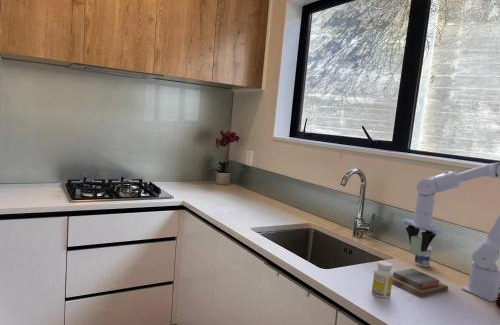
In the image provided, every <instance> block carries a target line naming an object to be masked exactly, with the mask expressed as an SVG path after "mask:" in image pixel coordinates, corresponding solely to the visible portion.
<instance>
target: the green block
mask: <svg viewBox="0 0 500 325" xmlns="http://www.w3.org/2000/svg"><path fill="white" fill-rule="evenodd" d="M421 247H422V235H419V234H418V235H416V236H411V243H410V242H409V251H408V252H409V253H411V254H414V256H415V255H418V256H422V255H426V251H425V252H422V251H421Z"/></svg>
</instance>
